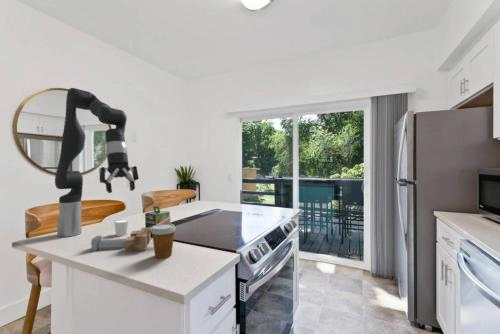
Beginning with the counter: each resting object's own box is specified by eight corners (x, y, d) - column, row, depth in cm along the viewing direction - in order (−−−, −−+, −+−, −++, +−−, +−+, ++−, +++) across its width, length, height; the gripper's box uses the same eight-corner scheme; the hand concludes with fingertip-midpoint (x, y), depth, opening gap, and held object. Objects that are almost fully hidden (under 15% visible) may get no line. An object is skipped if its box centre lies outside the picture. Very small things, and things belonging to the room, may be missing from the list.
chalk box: (170, 233, 128) (170, 205, 128) (155, 237, 120) (155, 208, 120) (159, 230, 133) (159, 204, 133) (144, 234, 125) (144, 206, 125)
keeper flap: (149, 233, 107) (147, 231, 106) (150, 230, 111) (149, 228, 111) (171, 220, 109) (169, 218, 109) (171, 218, 114) (170, 215, 113)
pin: (91, 251, 101) (91, 239, 100) (96, 247, 106) (96, 235, 106) (125, 248, 104) (125, 237, 104) (128, 244, 109) (128, 233, 109)
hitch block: (124, 252, 100) (124, 237, 100) (132, 241, 114) (132, 228, 114) (145, 250, 102) (145, 236, 102) (150, 239, 116) (150, 227, 116)
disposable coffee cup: (161, 262, 90) (161, 230, 90) (145, 256, 95) (145, 227, 95) (180, 254, 98) (180, 225, 98) (165, 249, 103) (165, 222, 103)
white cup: (123, 236, 121) (123, 223, 121) (111, 235, 122) (111, 222, 122) (132, 232, 128) (132, 220, 128) (121, 232, 129) (121, 219, 129)
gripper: (131, 155, 108) (135, 191, 106) (95, 155, 97) (99, 194, 95) (137, 151, 103) (142, 188, 101) (100, 150, 92) (105, 192, 90)
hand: (121, 191), depth 98 cm, fingers open, 8 cm apart
